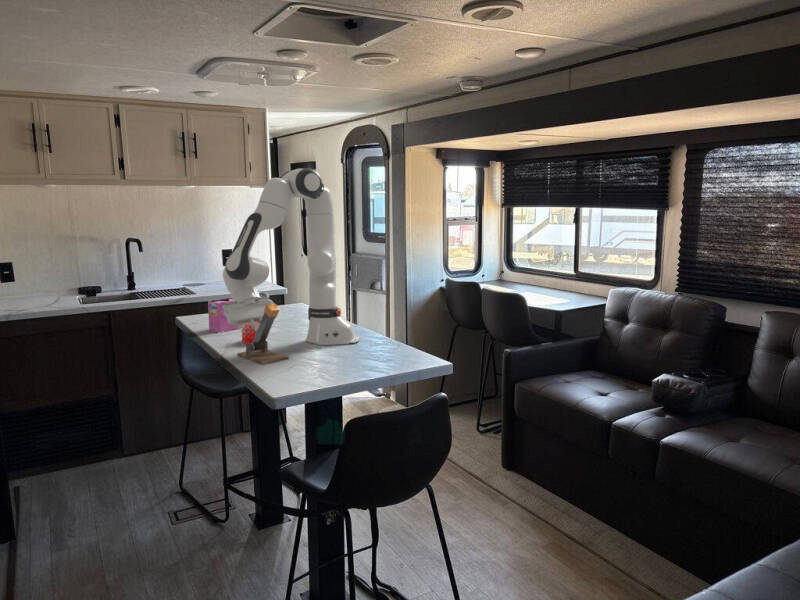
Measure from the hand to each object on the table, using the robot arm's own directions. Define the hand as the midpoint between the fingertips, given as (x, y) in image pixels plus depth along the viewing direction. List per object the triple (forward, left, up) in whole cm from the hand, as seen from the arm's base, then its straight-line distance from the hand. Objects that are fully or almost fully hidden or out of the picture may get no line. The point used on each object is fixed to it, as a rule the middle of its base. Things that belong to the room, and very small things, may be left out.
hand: (260, 330), depth 224 cm
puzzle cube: (+8, -24, -11) cm, 28 cm away
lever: (+2, -2, -7) cm, 8 cm away
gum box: (+24, -50, -11) cm, 56 cm away
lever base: (-1, +1, -10) cm, 10 cm away
